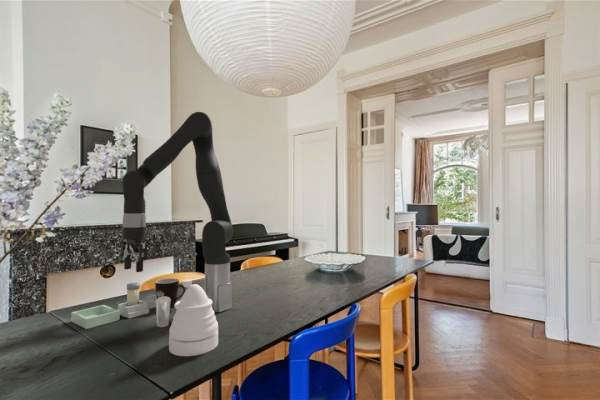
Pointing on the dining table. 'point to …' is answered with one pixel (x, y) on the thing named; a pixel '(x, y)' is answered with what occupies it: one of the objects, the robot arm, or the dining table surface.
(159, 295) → the coffee mug
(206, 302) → the honey pot
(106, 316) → the tray
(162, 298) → the milkshake
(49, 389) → the dining table surface
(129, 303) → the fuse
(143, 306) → the holder
